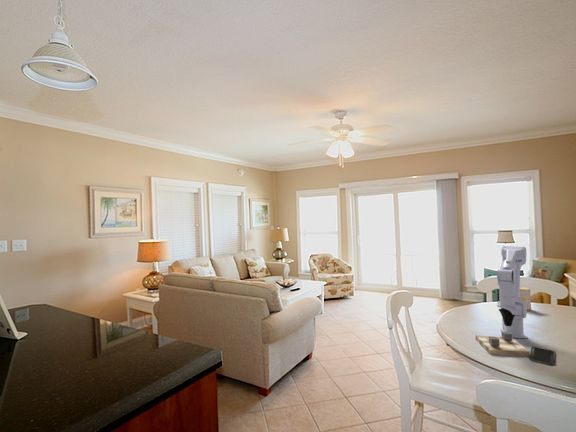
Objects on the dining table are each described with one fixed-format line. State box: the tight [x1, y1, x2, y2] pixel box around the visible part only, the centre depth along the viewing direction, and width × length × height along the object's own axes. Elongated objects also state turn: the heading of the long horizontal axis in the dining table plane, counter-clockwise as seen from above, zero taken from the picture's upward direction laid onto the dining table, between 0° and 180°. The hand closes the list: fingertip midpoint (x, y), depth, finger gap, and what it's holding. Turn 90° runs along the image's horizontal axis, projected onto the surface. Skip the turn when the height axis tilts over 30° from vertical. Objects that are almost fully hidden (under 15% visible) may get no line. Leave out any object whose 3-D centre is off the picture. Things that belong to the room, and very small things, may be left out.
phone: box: [528, 346, 556, 366], centre depth 127 cm, size 8×1×15 cm
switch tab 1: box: [488, 335, 500, 346], centre depth 135 cm, size 3×3×3 cm
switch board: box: [475, 334, 531, 357], centre depth 137 cm, size 16×15×2 cm
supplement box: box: [519, 286, 532, 311], centre depth 190 cm, size 8×5×13 cm, turn 30°
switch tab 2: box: [501, 331, 512, 341], centre depth 140 cm, size 3×3×3 cm
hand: (508, 325), depth 138 cm, fingers closed
